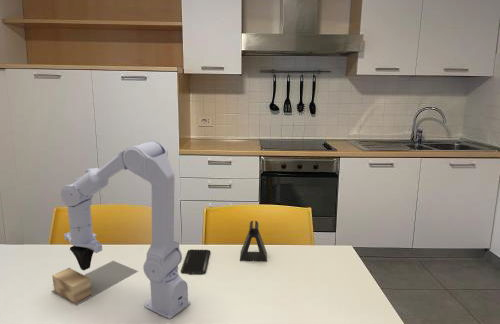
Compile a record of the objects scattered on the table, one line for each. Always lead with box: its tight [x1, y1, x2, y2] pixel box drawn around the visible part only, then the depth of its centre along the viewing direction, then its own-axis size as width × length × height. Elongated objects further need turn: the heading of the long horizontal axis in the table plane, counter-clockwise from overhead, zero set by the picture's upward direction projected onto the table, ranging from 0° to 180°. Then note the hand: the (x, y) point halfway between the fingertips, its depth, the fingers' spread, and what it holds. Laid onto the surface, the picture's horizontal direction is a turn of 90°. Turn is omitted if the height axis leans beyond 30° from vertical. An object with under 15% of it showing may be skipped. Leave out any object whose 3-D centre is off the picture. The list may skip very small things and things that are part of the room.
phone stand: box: [239, 220, 268, 263], centre depth 126 cm, size 9×6×12 cm, turn 88°
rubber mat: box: [51, 260, 139, 307], centre depth 112 cm, size 12×21×1 cm, turn 148°
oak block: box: [51, 267, 92, 304], centre depth 105 cm, size 10×5×5 cm, turn 56°
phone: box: [180, 249, 211, 276], centre depth 123 cm, size 8×1×15 cm
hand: (85, 268), depth 108 cm, fingers closed
